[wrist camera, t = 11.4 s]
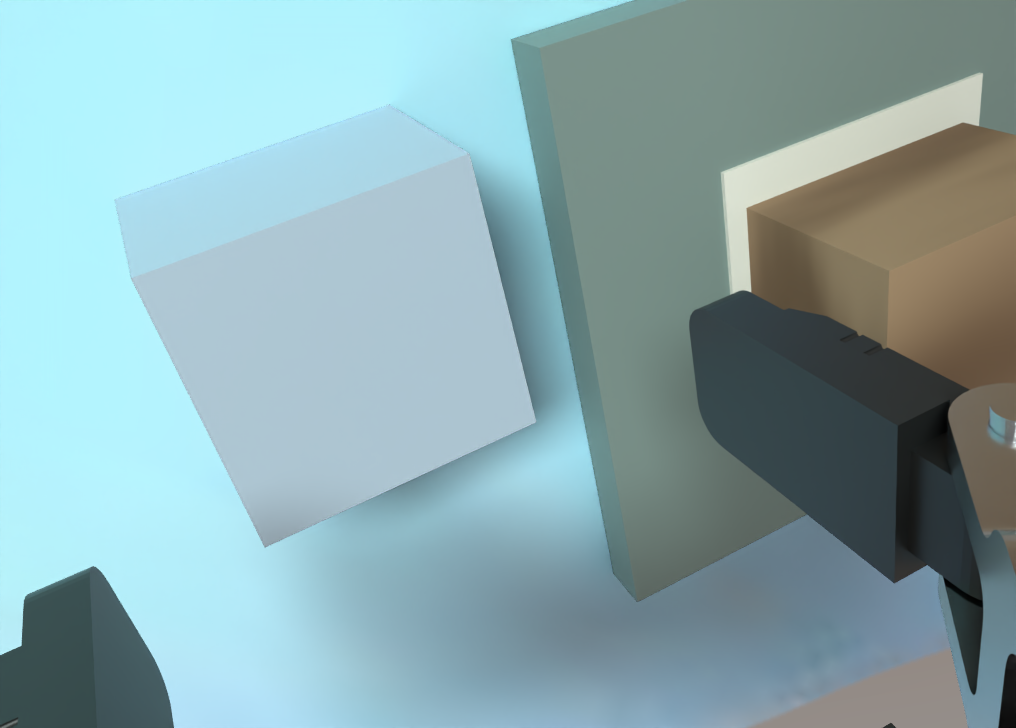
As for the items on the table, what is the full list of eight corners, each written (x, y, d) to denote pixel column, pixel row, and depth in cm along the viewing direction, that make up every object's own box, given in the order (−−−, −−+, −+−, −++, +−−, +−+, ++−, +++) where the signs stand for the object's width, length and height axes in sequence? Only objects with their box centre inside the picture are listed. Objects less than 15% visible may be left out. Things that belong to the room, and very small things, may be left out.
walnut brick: (746, 207, 19) (889, 270, 16) (962, 122, 21) (1133, 163, 17) (759, 433, 22) (880, 524, 19) (947, 343, 24) (1088, 414, 20)
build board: (511, 39, 17) (542, 48, 16) (1063, -136, 20) (1119, -139, 19) (613, 573, 24) (639, 604, 23) (1007, 375, 28) (1044, 394, 27)
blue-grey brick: (113, 197, 15) (130, 278, 12) (387, 103, 16) (469, 153, 13) (225, 429, 18) (264, 547, 15) (454, 333, 19) (536, 422, 16)
